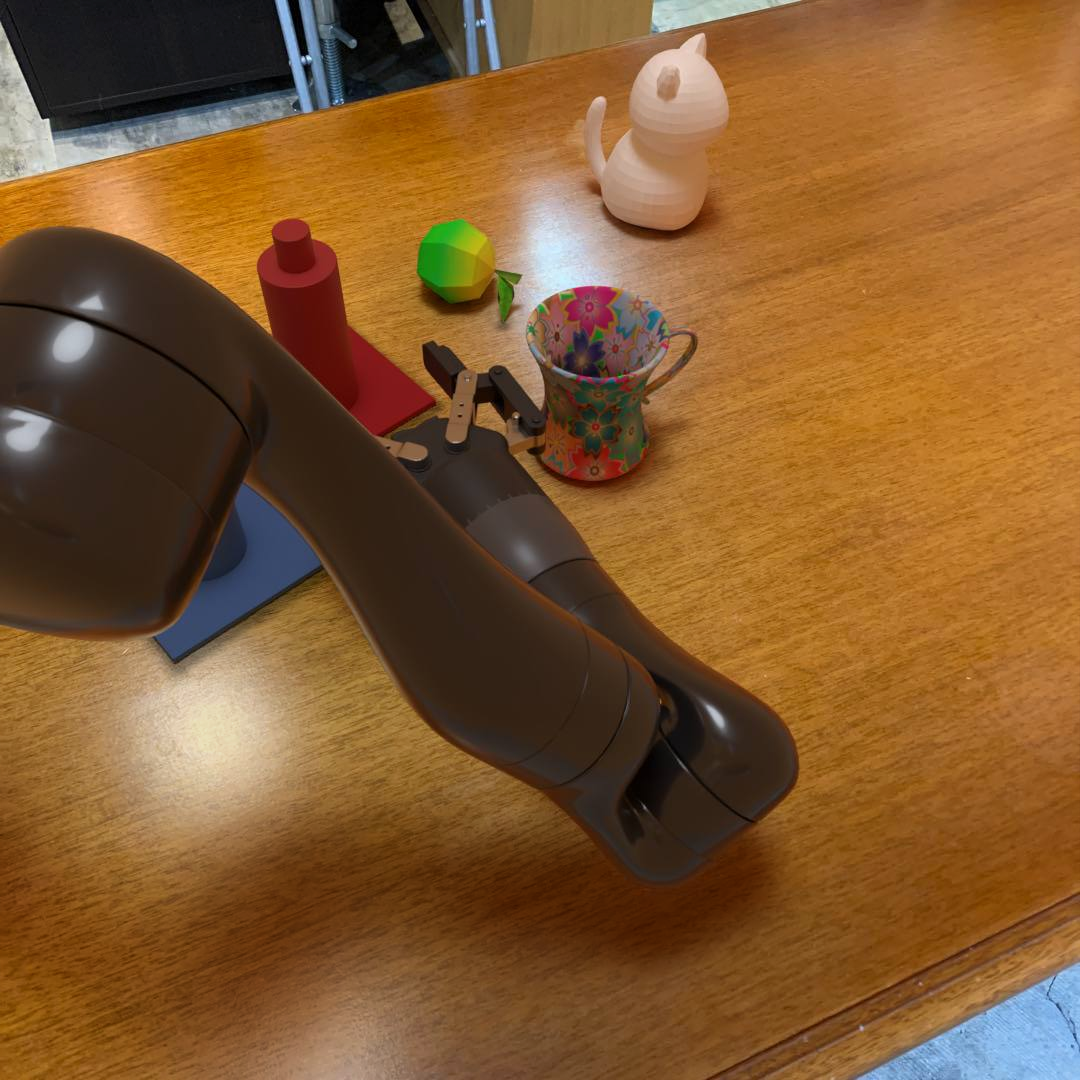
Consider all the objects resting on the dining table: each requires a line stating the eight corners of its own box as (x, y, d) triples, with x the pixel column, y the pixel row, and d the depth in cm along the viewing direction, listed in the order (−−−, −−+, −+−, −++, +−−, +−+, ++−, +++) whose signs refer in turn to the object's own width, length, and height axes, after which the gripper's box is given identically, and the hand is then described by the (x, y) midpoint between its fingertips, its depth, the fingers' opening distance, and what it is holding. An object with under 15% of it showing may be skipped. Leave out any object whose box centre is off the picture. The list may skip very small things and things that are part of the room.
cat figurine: (689, 257, 92) (714, 89, 80) (557, 215, 95) (563, 48, 83) (728, 202, 97) (757, 36, 85) (601, 163, 100) (612, -1, 88)
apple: (411, 205, 83) (521, 230, 81) (440, 216, 89) (542, 239, 87) (393, 297, 85) (500, 324, 83) (422, 302, 91) (522, 327, 89)
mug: (549, 506, 74) (553, 394, 66) (508, 414, 80) (507, 300, 71) (709, 466, 77) (732, 353, 69) (659, 379, 82) (674, 265, 74)
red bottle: (354, 420, 79) (326, 255, 67) (282, 419, 78) (242, 254, 67) (362, 370, 82) (336, 205, 70) (293, 370, 82) (256, 204, 70)
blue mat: (175, 663, 66) (172, 659, 66) (81, 547, 72) (78, 542, 71) (336, 560, 71) (335, 555, 71) (237, 458, 77) (235, 454, 76)
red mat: (301, 484, 75) (299, 480, 75) (209, 393, 81) (207, 388, 80) (436, 404, 80) (435, 399, 80) (341, 323, 86) (340, 318, 85)
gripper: (614, 452, 59) (462, 290, 67) (382, 564, 54) (249, 374, 62) (605, 537, 65) (467, 378, 73) (395, 645, 60) (273, 462, 68)
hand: (367, 376), depth 68 cm, fingers open, 8 cm apart
